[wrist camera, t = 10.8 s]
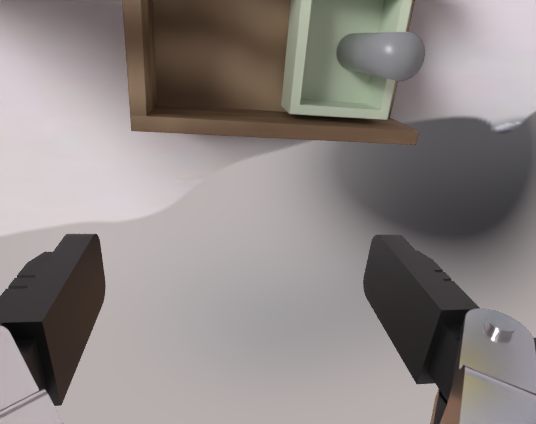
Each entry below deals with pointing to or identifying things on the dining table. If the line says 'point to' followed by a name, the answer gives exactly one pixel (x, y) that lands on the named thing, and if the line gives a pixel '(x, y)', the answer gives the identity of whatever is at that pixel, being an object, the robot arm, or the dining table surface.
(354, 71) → the box
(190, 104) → the bay
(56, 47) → the dining table surface
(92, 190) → the dining table surface
